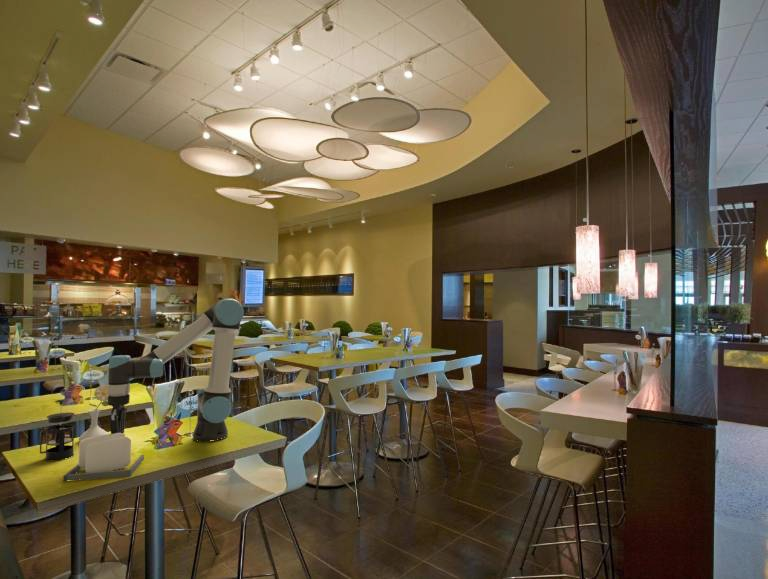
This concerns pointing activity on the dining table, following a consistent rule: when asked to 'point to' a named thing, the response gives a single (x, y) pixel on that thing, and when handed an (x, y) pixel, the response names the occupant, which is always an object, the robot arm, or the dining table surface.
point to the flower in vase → (96, 414)
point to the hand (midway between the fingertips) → (117, 453)
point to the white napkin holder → (104, 453)
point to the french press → (59, 436)
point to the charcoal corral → (106, 474)
